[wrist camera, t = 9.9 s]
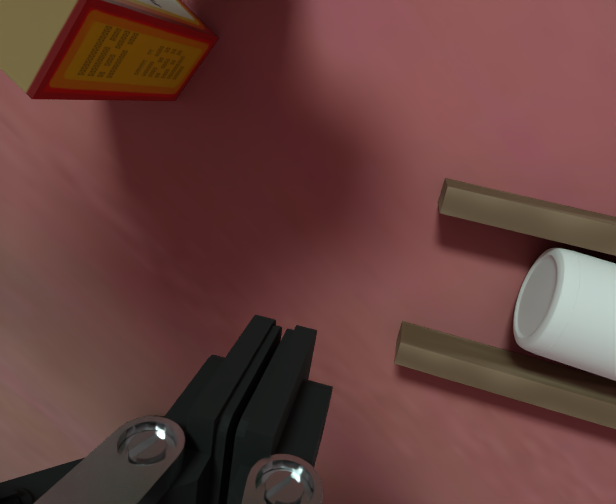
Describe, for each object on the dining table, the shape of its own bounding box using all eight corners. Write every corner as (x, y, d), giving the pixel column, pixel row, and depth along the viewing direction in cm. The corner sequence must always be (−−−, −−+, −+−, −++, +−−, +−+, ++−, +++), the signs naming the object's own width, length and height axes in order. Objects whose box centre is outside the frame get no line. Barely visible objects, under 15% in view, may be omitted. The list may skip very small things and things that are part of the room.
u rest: (445, 178, 36) (447, 186, 33) (848, 270, 32) (903, 292, 28) (396, 340, 41) (394, 363, 38) (738, 438, 37) (773, 475, 33)
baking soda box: (93, 21, 39) (-107, -28, 24) (132, -47, 37) (-64, -149, 22) (174, 100, 40) (26, 98, 25) (218, 38, 37) (83, -6, 22)
